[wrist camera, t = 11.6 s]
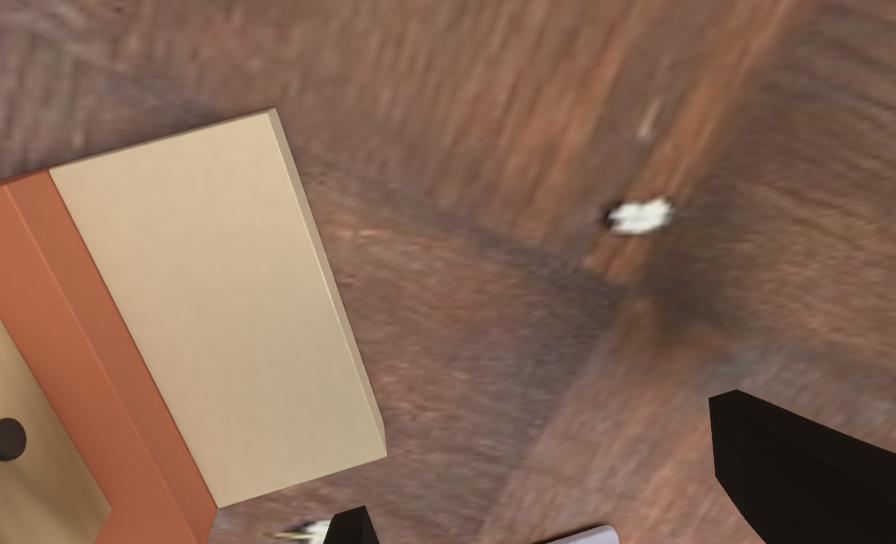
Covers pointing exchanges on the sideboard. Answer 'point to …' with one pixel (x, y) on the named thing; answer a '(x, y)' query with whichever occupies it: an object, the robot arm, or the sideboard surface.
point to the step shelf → (185, 325)
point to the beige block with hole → (40, 465)
